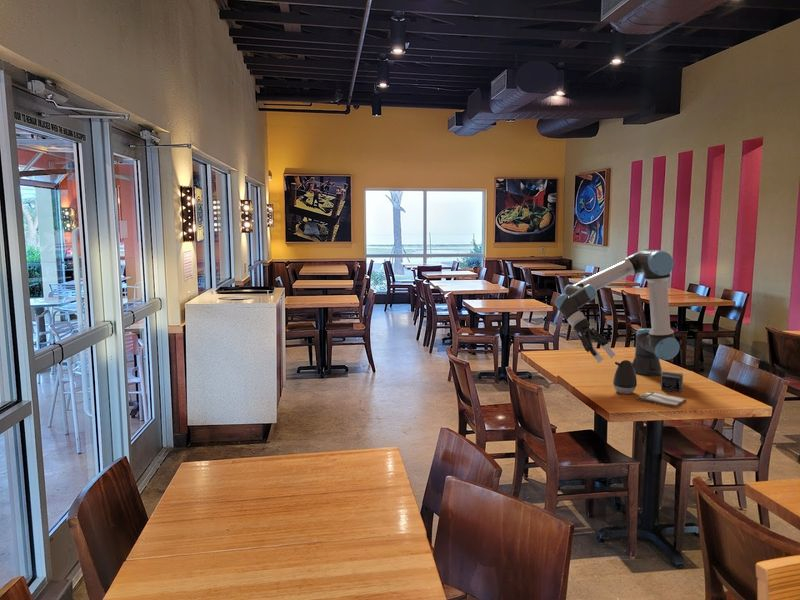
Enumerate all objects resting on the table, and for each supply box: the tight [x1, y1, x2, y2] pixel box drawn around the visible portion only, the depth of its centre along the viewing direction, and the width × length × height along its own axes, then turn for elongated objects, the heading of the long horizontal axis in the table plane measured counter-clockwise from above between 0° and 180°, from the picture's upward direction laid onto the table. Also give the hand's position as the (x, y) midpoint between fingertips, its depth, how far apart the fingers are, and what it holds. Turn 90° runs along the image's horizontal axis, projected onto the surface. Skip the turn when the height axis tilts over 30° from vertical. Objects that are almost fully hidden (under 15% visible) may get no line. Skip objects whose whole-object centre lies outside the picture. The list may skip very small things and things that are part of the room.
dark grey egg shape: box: [612, 359, 638, 395], centre depth 276 cm, size 10×10×15 cm
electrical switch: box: [660, 370, 684, 393], centre depth 280 cm, size 9×5×9 cm, turn 57°
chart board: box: [636, 391, 687, 409], centre depth 265 cm, size 14×16×1 cm
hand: (607, 358), depth 280 cm, fingers open, 13 cm apart
